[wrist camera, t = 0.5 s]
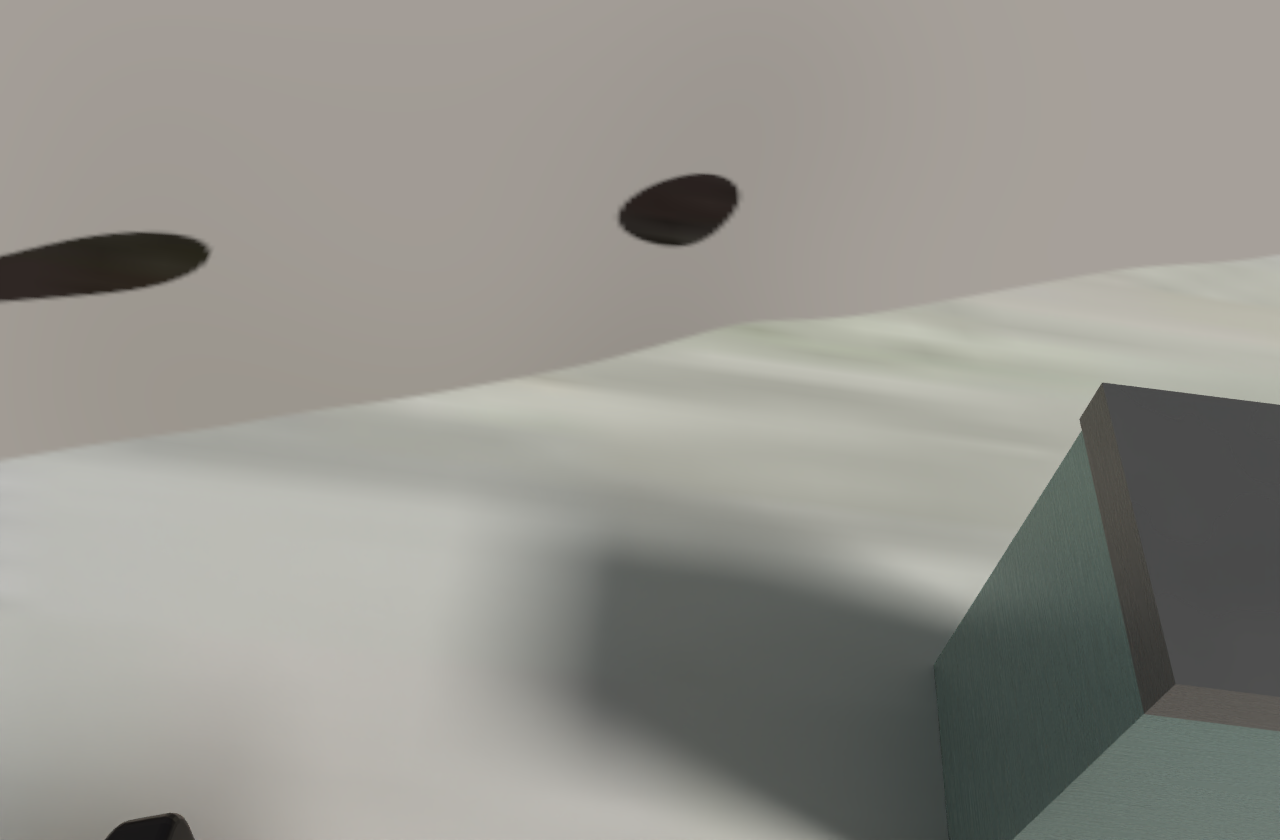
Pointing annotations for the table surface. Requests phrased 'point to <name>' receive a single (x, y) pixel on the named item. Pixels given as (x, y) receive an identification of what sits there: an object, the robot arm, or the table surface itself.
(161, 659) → the table surface
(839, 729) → the table surface
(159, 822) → the robot arm
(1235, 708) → the tea tin
